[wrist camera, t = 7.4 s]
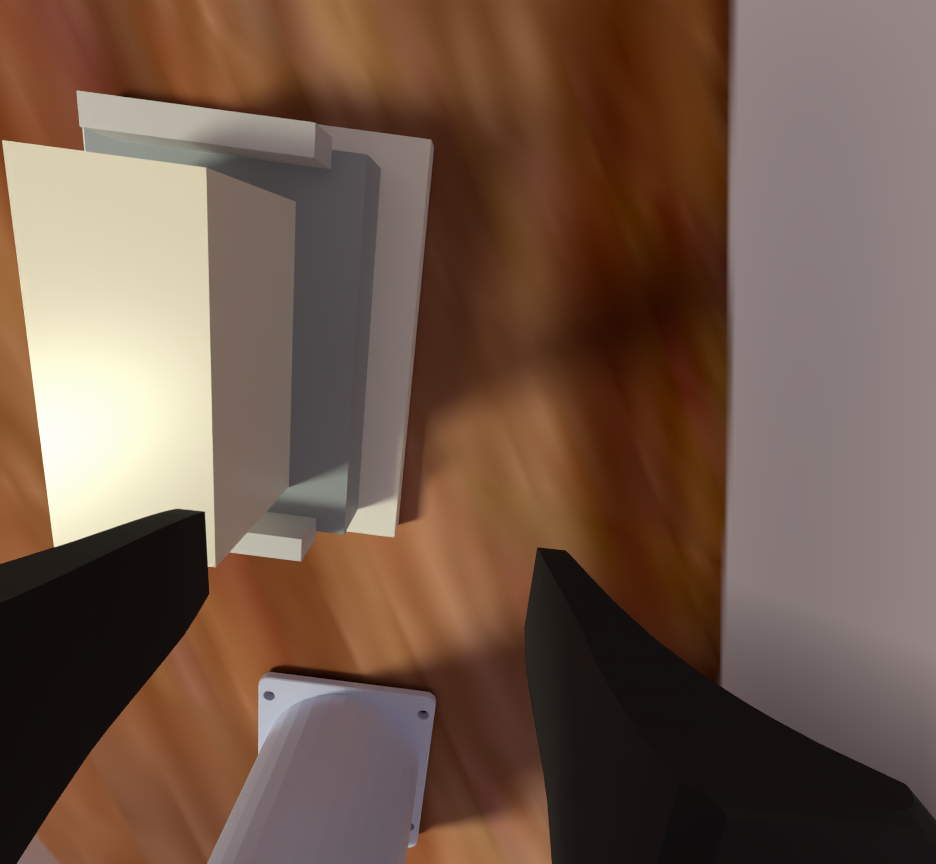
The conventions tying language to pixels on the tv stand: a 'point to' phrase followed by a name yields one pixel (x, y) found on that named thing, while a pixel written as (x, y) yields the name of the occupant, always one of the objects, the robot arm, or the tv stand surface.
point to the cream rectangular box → (155, 338)
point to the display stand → (317, 294)
